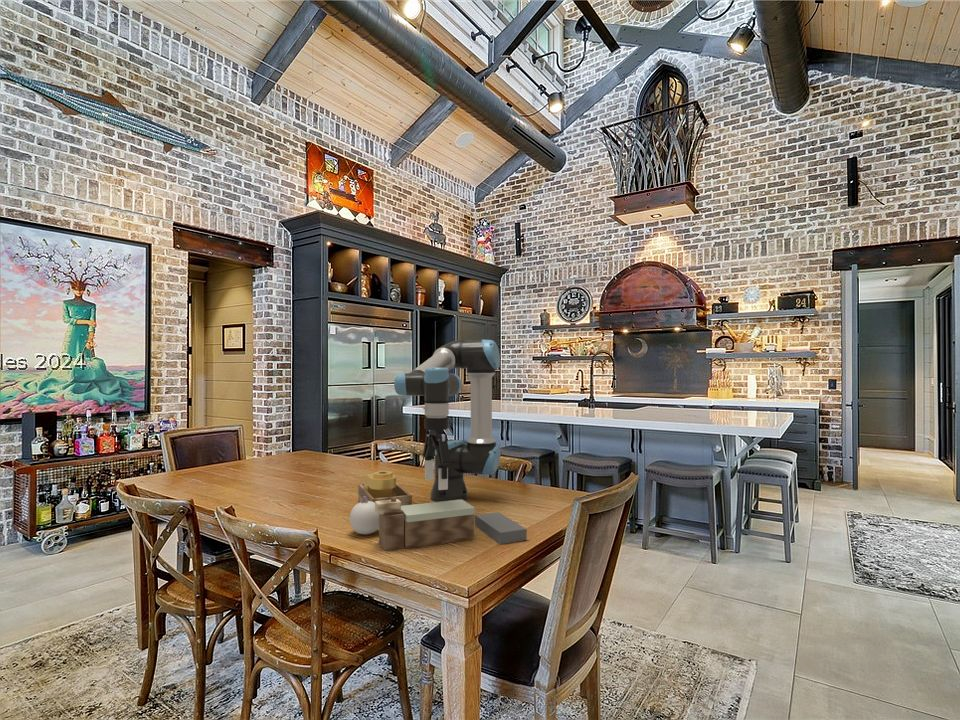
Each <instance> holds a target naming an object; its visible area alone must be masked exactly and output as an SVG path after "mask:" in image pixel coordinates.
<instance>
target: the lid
mask: <svg viewBox="0 0 960 720" xmlns="http://www.w3.org/2000/svg"><path fill="white" fill-rule="evenodd" d="M401 510H403V514H404V520H405V521H406V522H415V521H423V520H431V519H440V518H448V517H456V516H464V515H473V514H474V515H476V514H475V513H476V511H475V510H476V507H474V506H473V505H471V504H470V503H468V502H467V501H465V500H462V499H460V500H451V501H442V502H439V501H434V502H425V503H423V502H422V503H415V504H412V505H404V506H401Z"/></svg>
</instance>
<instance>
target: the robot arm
mask: <svg viewBox="0 0 960 720" xmlns="http://www.w3.org/2000/svg"><path fill="white" fill-rule="evenodd" d="M500 365H501V357H500V350H499V347H498V345H497V342H495V340H492V339H484V338H483V339H459V340H454V341H451V342H448V343H445V344H444V345H441V346H440V347H439V348H437V349H435V351H434V352H433V354H432V356H431V357H429V358H427V360H425V361H424V362H423V363H421V364H420V365H418V366H417V367H415V368H414V369H413V370H411V371H410V372H408V373H407V372H403V373H398V374H397V375H396V376H395V378H394V381H393V387H394V390H395V393H396V394H397V395H399V396H406V397H409V396H414V397H415V396H416V397H417V396H420V397H423V396H424V406H423V407H422V410H424V416H425V417H424V419H423V420H424V423H423V425H424V426H423V428H424V430H425V439H424V440H425V441H424V445H423V452H422V456H423V458H424V459H423V460H425V461H424V466H425V467H424V481H425V482H429V481H434V482H433V485H432V487H431V488H432V489H431V491H430V499H431V500H432V501H434V502H442V501H451V500H460V499H462V500H464V501H465V500H467V499H468V497H469V496H468V489H467V486H466V483H465V479H464V474H473V475H474V474H475V475H483V476H486V475H489V476H490V475H494V474H495V473H496V472H497V471H498V468H499V465H500V460H501V453H502V452H501V446H499V445H498V444H497V440H496V439H495V438H494V437H493V410H492V409H493V401H492V400H493V397H492V396H493V393H492V392H493V391H492V389H493V388H492V387H493V386H492V385H493V384H492V383H493V381H492V380H493V379H492V378H493V377H494V376H495V375H496V370H497V369H498V370H499V368H500ZM452 369H466V374H467V376H469V378H470V437H469V438H468V439H467V441H466V443H465V441H464V440H463V439H454V440H453V439H452V440H448V434H447V433H445V434H444V431H446V430H448V429H449V417H448V416H449V414H450V413H449V412H450V411H449V408H450V406H449V404H450V403H449V397H453V396H456V395H457V394H459V393H460V392H461V391H462V388H463V381H462V379H461V377H459V375H457V374H455V373H452V372H451V373H450V370H452ZM434 472H435V473H434ZM434 476H435V477H434Z"/></svg>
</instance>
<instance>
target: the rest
mask: <svg viewBox="0 0 960 720" xmlns="http://www.w3.org/2000/svg"><path fill="white" fill-rule="evenodd" d="M474 527H477V528H478V529H479V530H480V531H482V532H483V533H484V534H485V535H487V536H488V537H489V538H491V539H492V540H494V541H495V542H496V543H498V544H499V545H504V544H505V545H506V544H510V543H511V542H512V543H518V542H517V541H519V542H524V541H523V540H526V541H527V528H526V527H524V526H522V525H520V524H519V523H517V522H515V520H512V519H511V518H509V517H508V516H506V515H504V514H502V513H501V512H498V511H497V512H490V513H482V514H474ZM512 543H511V544H512Z"/></svg>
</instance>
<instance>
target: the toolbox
mask: <svg viewBox="0 0 960 720" xmlns="http://www.w3.org/2000/svg"><path fill="white" fill-rule="evenodd" d="M474 539H475V514H473V515H464V516H456V517H448V518H440V519H431V520H423V521H415V522H406V521H405V520H404V514H403V510H400V511H391V512H384V514H380V515H379V528H378V543H379V545H380V546H381V548H382V549H383V551H385V552H388V551H394V550H401V549H405V550H406V549H414V548H419V547H427V546H434V545H440V544H441V545H443V544H448V543H453V542H454V543H455V542H462V541H468V540H471V541H472V540H474Z"/></svg>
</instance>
